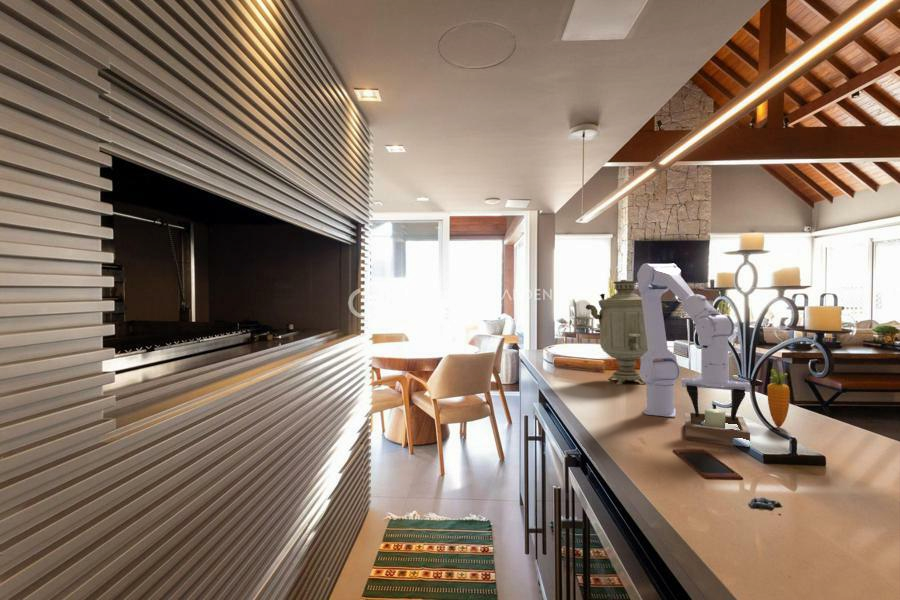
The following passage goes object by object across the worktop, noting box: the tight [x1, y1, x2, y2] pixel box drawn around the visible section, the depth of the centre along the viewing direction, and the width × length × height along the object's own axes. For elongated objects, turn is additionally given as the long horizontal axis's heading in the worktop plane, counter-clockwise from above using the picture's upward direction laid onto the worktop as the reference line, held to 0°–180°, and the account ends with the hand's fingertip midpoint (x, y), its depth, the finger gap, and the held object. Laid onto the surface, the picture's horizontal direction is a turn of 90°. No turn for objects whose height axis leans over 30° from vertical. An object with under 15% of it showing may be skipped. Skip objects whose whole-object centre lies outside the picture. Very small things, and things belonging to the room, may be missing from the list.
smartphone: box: [672, 448, 744, 481], centre depth 91 cm, size 7×1×15 cm
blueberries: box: [747, 496, 783, 515], centre depth 73 cm, size 7×8×2 cm
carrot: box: [766, 368, 791, 428], centre depth 115 cm, size 5×5×15 cm
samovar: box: [585, 280, 667, 386], centre depth 172 cm, size 30×26×40 cm
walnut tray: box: [684, 410, 751, 447], centre depth 109 cm, size 14×13×4 cm
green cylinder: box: [704, 408, 726, 428], centre depth 109 cm, size 4×4×5 cm
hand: (714, 417), depth 109 cm, fingers open, 7 cm apart
